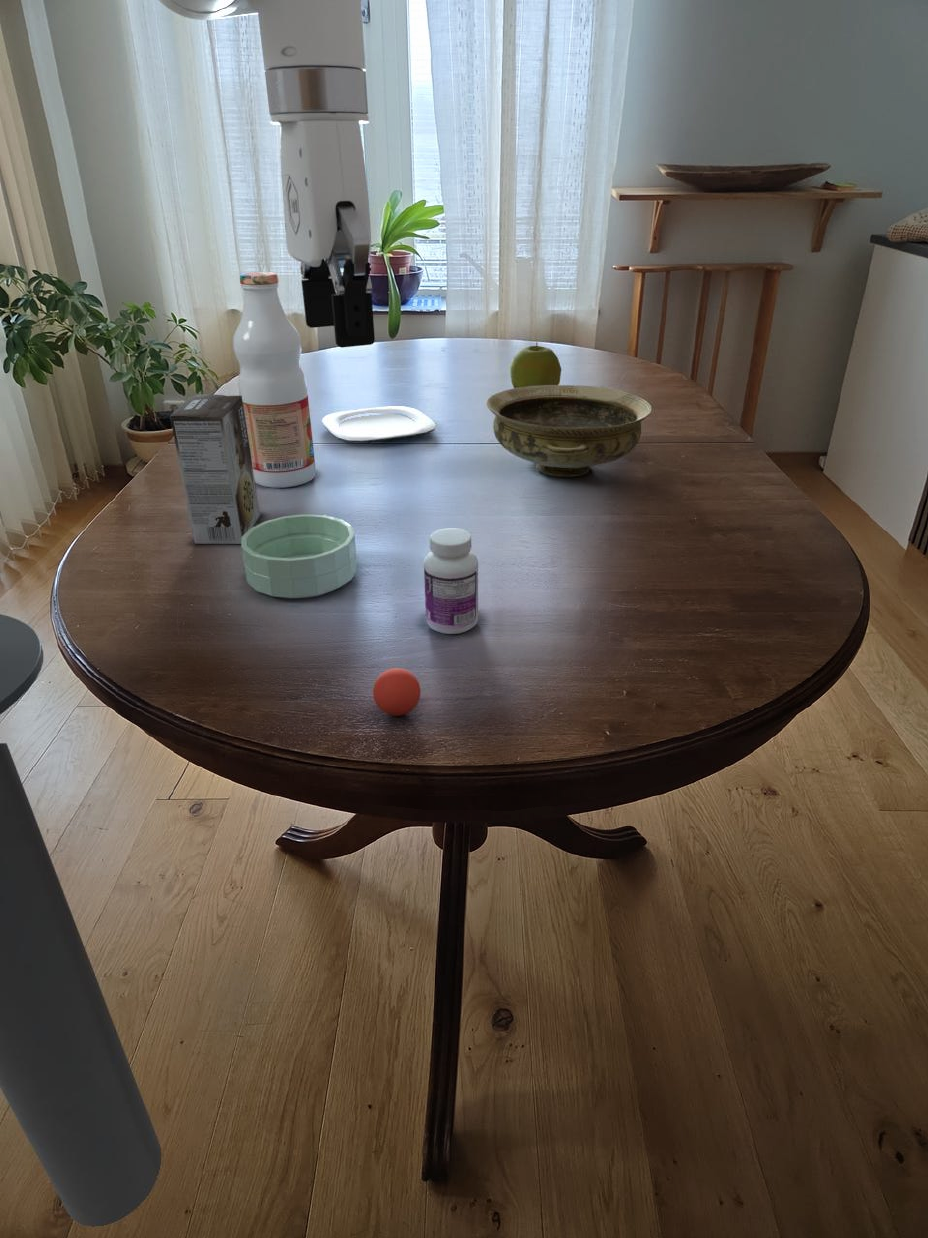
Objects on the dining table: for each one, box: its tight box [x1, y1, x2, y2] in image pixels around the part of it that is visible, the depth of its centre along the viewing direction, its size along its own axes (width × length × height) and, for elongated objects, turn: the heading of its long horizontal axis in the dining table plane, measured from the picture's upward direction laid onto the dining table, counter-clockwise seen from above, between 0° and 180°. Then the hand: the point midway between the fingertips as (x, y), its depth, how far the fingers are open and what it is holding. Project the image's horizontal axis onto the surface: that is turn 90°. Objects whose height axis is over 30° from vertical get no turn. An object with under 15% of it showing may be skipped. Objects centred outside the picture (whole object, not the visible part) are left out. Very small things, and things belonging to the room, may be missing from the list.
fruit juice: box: [232, 271, 316, 489], centre depth 110 cm, size 9×9×28 cm
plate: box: [321, 405, 437, 444], centre depth 137 cm, size 18×18×2 cm
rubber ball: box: [372, 667, 421, 717], centre depth 66 cm, size 4×4×4 cm
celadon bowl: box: [240, 513, 358, 599], centre depth 88 cm, size 12×12×5 cm
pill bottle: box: [423, 527, 479, 635], centre depth 78 cm, size 5×5×10 cm
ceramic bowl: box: [486, 384, 653, 478], centre depth 117 cm, size 30×24×10 cm
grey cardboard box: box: [169, 394, 261, 545], centre depth 97 cm, size 9×6×16 cm
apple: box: [509, 341, 562, 389], centre depth 151 cm, size 10×10×11 cm
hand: (338, 335), depth 69 cm, fingers open, 9 cm apart
